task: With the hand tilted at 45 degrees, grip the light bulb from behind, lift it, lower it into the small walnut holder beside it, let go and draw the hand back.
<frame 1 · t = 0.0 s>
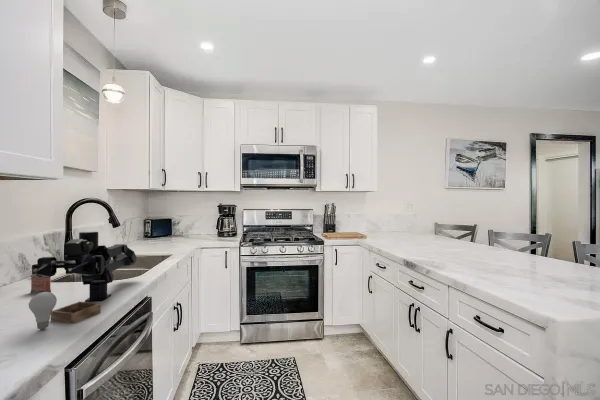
hand: (54, 271, 86), 17 cm above the table, tool horizontal, fingers open, 9 cm apart
lightbulb: (43, 330, 84), on the table
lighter: (40, 293, 119), on the table
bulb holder: (76, 316, 94), on the table
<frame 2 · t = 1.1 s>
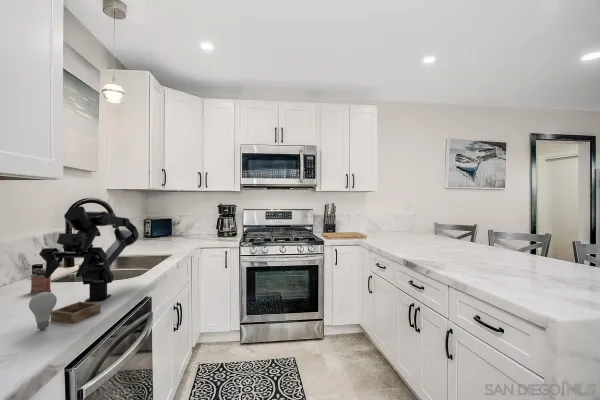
hand: (61, 277, 92), 14 cm above the table, tool tilted 45°, fingers open, 9 cm apart
nothing on the table moved.
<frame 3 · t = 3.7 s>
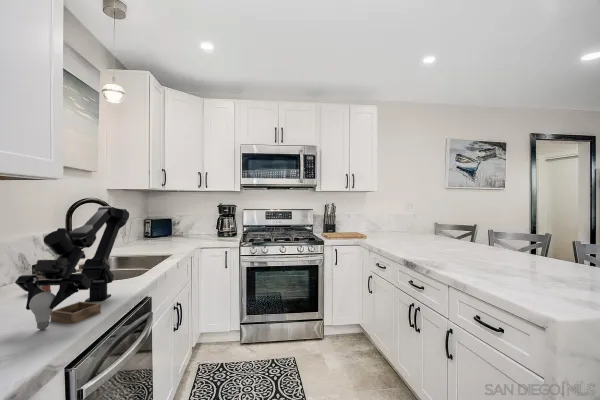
hand: (39, 308, 83), 7 cm above the table, tool tilted 45°, fingers closed on lightbulb, 6 cm apart
lightbulb: (42, 330, 84), on the table, touching gripper
everything else where it was.
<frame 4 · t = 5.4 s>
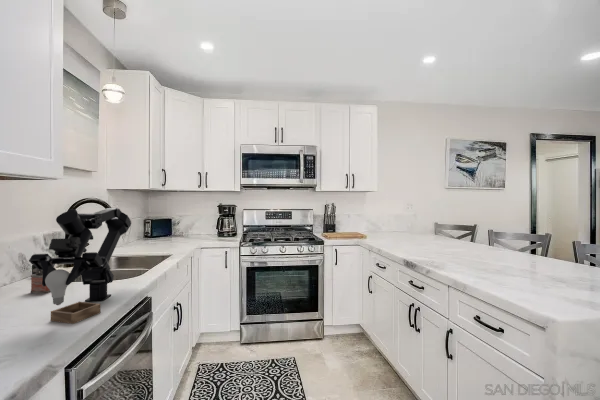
hand: (55, 285, 87), 12 cm above the table, tool tilted 45°, fingers closed on lightbulb, 6 cm apart
lightbulb: (58, 305, 88), point 6 cm above the table, touching gripper
everything else where it was.
when the fingers open (8 cm above the table, at t = 7.4 s): lightbulb drops 1 cm, resting in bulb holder.
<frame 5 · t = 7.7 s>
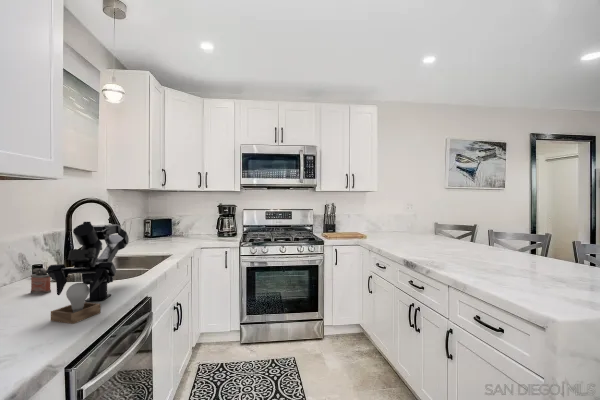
hand: (74, 293, 93), 8 cm above the table, tool tilted 45°, fingers open, 9 cm apart
lightbulb: (77, 316, 94), resting in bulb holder
everything else where it was.
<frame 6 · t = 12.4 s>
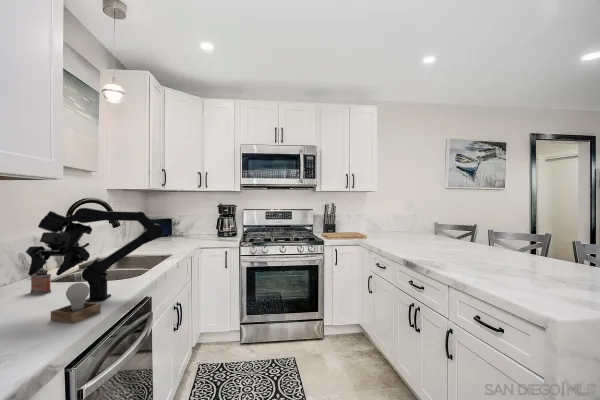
hand: (43, 274, 95), 14 cm above the table, tool tilted 45°, fingers open, 9 cm apart
nothing on the table moved.
at the end: lightbulb 0.4 cm off-centre on the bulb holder, point 0.0 cm above the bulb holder's base; lightbulb tilted 0°; the gripper is holding nothing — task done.
